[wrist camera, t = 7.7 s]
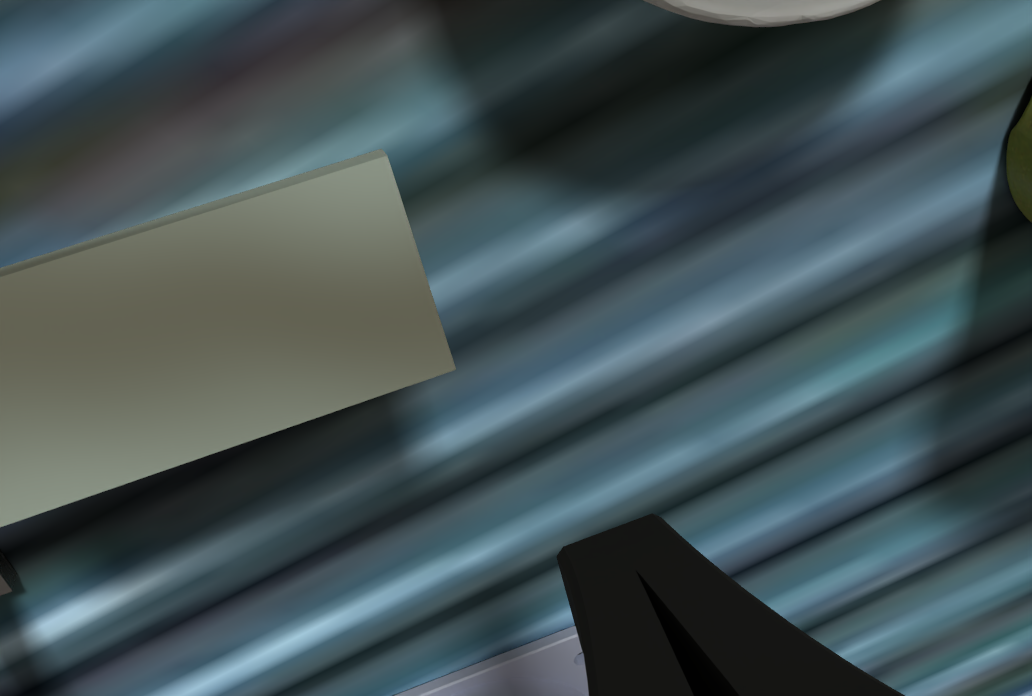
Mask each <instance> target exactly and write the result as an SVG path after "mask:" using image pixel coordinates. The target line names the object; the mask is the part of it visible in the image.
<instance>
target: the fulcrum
mask: <svg viewBox="0 0 1032 696" xmlns="http://www.w3.org/2000/svg"><path fill="white" fill-rule="evenodd" d="M16 574H17V573H16V571H15V570H14V569H13V567H12V566H11V564H10V563H9V562H8V560H7V559H6V557H5V556H4V554H3V553H2V552H1V550H0V596H1V595H3V594H6V593H9V592H12V591H13V587H14V583H15V578H16Z"/></svg>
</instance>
